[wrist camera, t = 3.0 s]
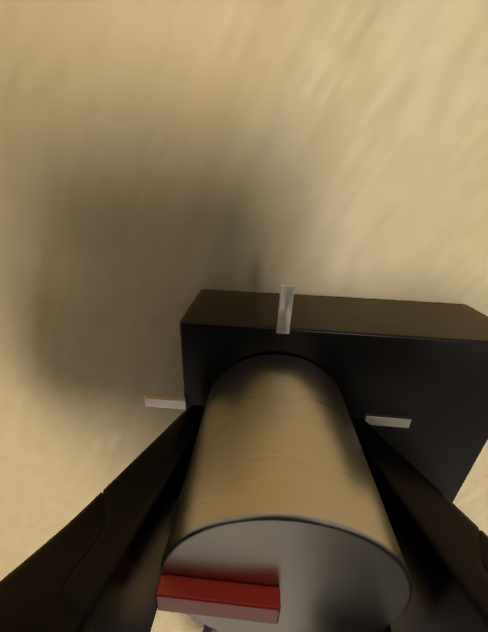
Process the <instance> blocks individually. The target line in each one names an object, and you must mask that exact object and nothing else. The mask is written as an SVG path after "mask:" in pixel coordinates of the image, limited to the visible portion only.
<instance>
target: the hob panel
mask: <svg viewBox="0 0 488 632" xmlns="http://www.w3.org/2000/svg"><path fill="white" fill-rule="evenodd" d="M294 289H295V287H294V285H285V284H281V285H280V294H271V293H254V292H237V291H220V290H204V289H202V290H201V291H200V293H199V294H198V296H197V297H196V298H195V300H194V301H193V303H192V304H191V306H190V307H189V309H188V310H187V312H186V313H185V315H184V316H183V318H182V319H181V321H180V335H181V350H182V365H183V380H184V395H185V398H174V397H162V396H149V395H146V396H145V398H144V401H145V406H146V407H158V408H170V409H183V410H186V409H187V408H188V407H189V406H191V405H202V406H204V408H205V406H206V403H207V399H208V396H209V393H210V390H211V388H212V386H213V384H214V383H215V381H216V380H217V378H218V377H219V376H220V375H221V374H222V373H223V372H224V371H226V370H227V369H228V368H229V367H231V366H232V365H234V364H236V363H238V362H240V361H242V360H244V359H247V358H250V357H254V356H259V355H267V354H282V355H290V356H294V357H298V358H301V359H304V360H306V361H309V362H311V363H313V364H315V365H316V366H318V367H319V368H321V369H322V370H324V371H325V372H326V373H327V374H328V375H329V376H330V377H331V378H332V379H333V380H334V382H335V383H336V384H337V386H338V388H339V389H340V392H341V395H342V397H343V400H344V402H345V405H346V408H347V410H348V413H349V416H350V418H362V419H364V420H365V421H367V422H368V423H369V424H370V425H371V426H372V427H373V428H374V429H375V430H376V431H377V432H378V433H379V434H380V435H381V436H382V437H383V438H385V439H386V440H387V441H388V442H389V443H390V444H391V445H392V446H393V447H394V448H395V449H396V450H397V451H398V452H399V453H400V454H401V455H402V456H404V457H405V458H406V459H407V460H408V461H409V462H410V463H411V464H412V465H413V466H414V467H415V468H416V469H417V470H418V471H419V472H420V473H421V474H423V475H424V476H425V477H426V478H427V479H428V480H429V481H430V482H431V483H432V484H433V485H434V486H435V487H436V488H437V489H438V490H439V491H440V492H442V493H443V494H444V495H445V496H446V497H447V498H448V499H449V500H450V501H451V502H453V500H454V499H455V497H456V495H457V493H458V491H459V490H460V488H461V486H462V484H463V482H464V481H465V479H466V477H467V475H468V473H469V472H470V470H471V468H472V466H473V464H474V463H475V461H476V459H477V457H478V455H479V454H480V452H481V450H482V448H483V447H484V445H485V443H486V441H487V439H488V317H487V316H486V315H484V314H482V313H480V312H478V311H476V310H475V309H473V308H471V307H469V306H467V305H457V304H440V303H423V302H406V301H390V300H373V299H356V298H339V297H322V296H305V295H294Z"/></svg>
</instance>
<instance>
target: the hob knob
mask: <svg viewBox="0 0 488 632" xmlns="http://www.w3.org/2000/svg"><path fill="white" fill-rule="evenodd" d="M411 593H412V584H411V576H410V574H409V571H408V568H407V566H406V563H405V561H404V558H403V555H402V553H401V550H400V547H399V545H398V542H397V539H396V537H395V534H394V532H393V529H392V526H391V524H390V521H389V518H388V516H387V513H386V511H385V508H384V505H383V503H382V500H381V497H380V495H379V492H378V489H377V487H376V484H375V482H374V479H373V476H372V474H371V471H370V468H369V466H368V463H367V460H366V458H365V455H364V453H363V450H362V447H361V445H360V442H359V439H358V437H357V434H356V431H355V429H354V426H353V424H352V421H351V418H350V416H349V413H348V410H347V408H346V405H345V402H344V400H343V397H342V395H341V392H340V389H339V388H338V386H337V384H336V383H335V382H334V380H333V379H332V378H331V377H330V376H329V375H328V374H327V373H326V372H325V371H324V370H322V369H321V368H319V367H318V366H316V365H315V364H313V363H311V362H309V361H306V360H304V359H301V358H298V357H294V356H290V355H282V354H267V355H259V356H254V357H250V358H247V359H244V360H242V361H240V362H238V363H236V364H234V365H232V366H231V367H229V368H228V369H227V370H226V371H224V372H223V373H222V374H221V375H220V376H219V377H218V378H217V380H216V381H215V383H214V384H213V386H212V388H211V390H210V393H209V396H208V399H207V403H206V406H205V410H204V413H203V417H202V420H201V424H200V427H199V431H198V435H197V438H196V442H195V445H194V449H193V452H192V456H191V459H190V463H189V466H188V470H187V473H186V477H185V480H184V484H183V487H182V491H181V494H180V498H179V501H178V505H177V509H176V512H175V516H174V519H173V523H172V526H171V530H170V533H169V537H168V540H167V544H166V547H165V551H164V554H163V558H162V562H161V575H160V578H159V582H158V585H157V589H156V592H155V597H156V602H157V607H158V610H162V611H170V612H178V613H186V614H188V615H189V616H191V617H192V618H194V619H196V620H197V621H199V622H201V623H203V624H205V625H206V626H208V627H210V628H213V629H215V630H218V631H220V632H377V631H378V630H380V629H382V628H384V627H386V626H388V625H389V624H391V623H392V622H394V621H395V620H396V619H397V618H398V617H399V616H400V615H401V614H402V613H403V612H404V610H405V609H406V608H407V606H408V604H409V601H410V599H411Z"/></svg>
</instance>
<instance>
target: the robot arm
mask: <svg viewBox="0 0 488 632" xmlns="http://www.w3.org/2000/svg"><path fill="white" fill-rule="evenodd" d="M204 410H205V408H204V406H202V405H191V406H189V407H188V408H187V409H186V410H185V411H184V412H183V413H182V414H181V415H180V416H179V417H178V418H177V419H176V420H175V421H174V422H173V423H172V424H171V425H170V426H169V427H168V428H167V429H166V430H165V431H164V432H163V433H162V434H161V435H160V436H159V437H158V438H157V439H156V440H155V441H154V442H152V443H151V444H150V445H149V446H148V447H147V448H146V449H145V450H144V451H143V452H142V453H141V454H140V455H139V456H138V457H137V458H136V459H135V460H134V461H133V462H132V463H131V464H130V465H129V466H128V467H127V468H126V469H125V470H124V471H123V472H122V473H121V474H120V475H119V476H118V477H117V478H116V479H114V480H113V481H112V482H111V483H110V484H109V485H108V486H107V487H106V488H105V489H104V491H103V493H100V494H99V495H98V496H97V497H96V498H95V499H94V500H93V501H92V502H91V503H90V504H89V505H88V506H87V507H85V508H84V509H83V510H82V511H81V512H80V513H79V514H78V515H77V516H76V517H75V518H74V519H73V520H72V521H70V522H69V523H68V524H67V525H66V526H65V527H64V528H63V529H62V530H60V531H59V532H58V533H57V534H56V535H55V536H53V537H52V538H51V539H50V540H49V541H48V542H47V543H45V544H44V545H43V546H42V547H41V548H40V549H38V550H37V551H36V552H35V553H34V554H32V555H31V556H30V557H29V558H28V559H26V560H25V561H24V562H23V563H22V564H20V565H19V566H18V567H17V568H16V569H14V570H13V571H12V572H11V573H10V574H8V575H7V576H6V577H5V578H4V579H2V580H1V581H0V632H150V631H151V627H152V624H153V621H154V617H155V614H156V611H157V602H156V597H155V592H156V589H157V585H158V582H159V578H160V575H161V562H162V558H163V554H164V551H165V547H166V544H167V540H168V537H169V533H170V530H171V526H172V523H173V519H174V516H175V512H176V509H177V505H178V501H179V498H180V494H181V491H182V487H183V484H184V480H185V477H186V473H187V470H188V466H189V463H190V459H191V456H192V452H193V449H194V445H195V442H196V438H197V435H198V431H199V427H200V424H201V420H202V417H203V413H204ZM351 421H352V424H353V426H354V429H355V431H356V434H357V437H358V439H359V442H360V445H361V447H362V450H363V453H364V455H365V458H366V460H367V463H368V466H369V468H370V471H371V474H372V476H373V479H374V482H375V484H376V487H377V489H378V492H379V495H380V497H381V500H382V503H383V505H384V508H385V511H386V513H387V516H388V518H389V521H390V524H391V526H392V529H393V532H394V534H395V537H396V539H397V542H398V545H399V547H400V550H401V553H402V555H403V558H404V561H405V563H406V566H407V568H408V571H409V574H410V576H411V584H412V593H411V599H410V601H409V604H408V606H407V608H406V609H405V610H404V612H403V613H402V614H401V615H400V616H399V617H398V618H397V619H396V620H395V621H394V622H392V623H391V624H389V625H388V626H386V627H384V628H382V629H380V630H378V631H377V632H488V536H487V535H486V534H485V533H484V532H483V531H481V530H480V531H479V528H478V527H477V526H476V525H475V524H474V523H473V522H472V521H471V520H470V519H469V518H468V517H467V516H466V515H465V514H464V513H463V512H462V511H461V510H459V509H458V508H457V507H456V506H455V505H454V504H453V503H452V502H451V501H450V500H449V499H448V498H447V497H446V496H445V495H444V494H443V493H442V492H440V491H439V490H438V489H437V488H436V487H435V486H434V485H433V484H432V483H431V482H430V481H429V480H428V479H427V478H426V477H425V476H424V475H423V474H421V473H420V472H419V471H418V470H417V469H416V468H415V467H414V466H413V465H412V464H411V463H410V462H409V461H408V460H407V459H406V458H405V457H404V456H402V455H401V454H400V453H399V452H398V451H397V450H396V449H395V448H394V447H393V446H392V445H391V444H390V443H389V442H388V441H387V440H386V439H385V438H383V437H382V436H381V435H380V434H379V433H378V432H377V431H376V430H375V429H374V428H373V427H372V426H371V425H370V424H369V423H368V422H367V421H365V420H364V419H362V418H351Z"/></svg>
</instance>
